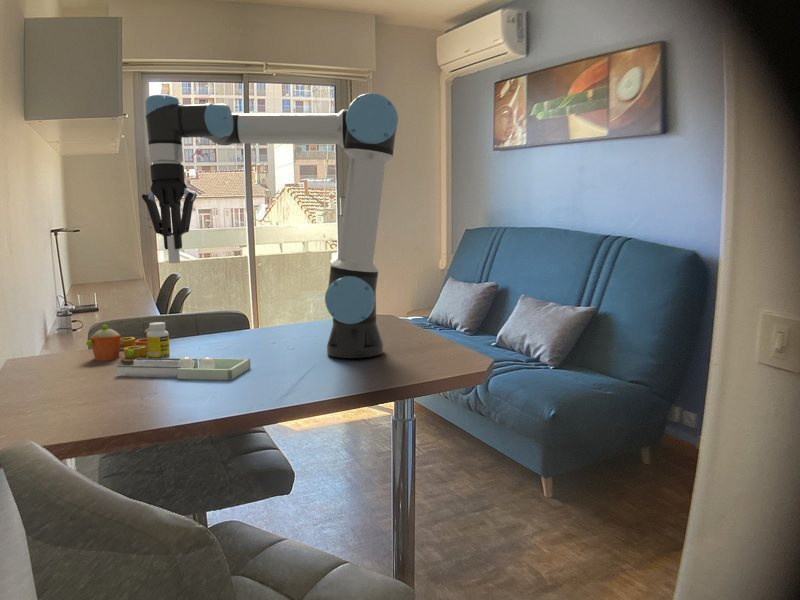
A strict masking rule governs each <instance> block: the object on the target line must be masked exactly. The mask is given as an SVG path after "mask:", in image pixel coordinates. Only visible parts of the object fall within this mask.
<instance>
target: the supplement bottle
mask: <svg viewBox="0 0 800 600" xmlns="http://www.w3.org/2000/svg"><path fill="white" fill-rule="evenodd" d="M148 325H149V326H148V328H150V331H149V332H148V333H147V335H146V338H147V348H148V358H171V357H170V337H169V336H170V335H169V331H167V330H166V322H164V321H159V322H156V321H154V322H150V323H149V324H148Z"/></svg>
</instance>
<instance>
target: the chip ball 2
mask: <svg viewBox="0 0 800 600" xmlns="http://www.w3.org/2000/svg"><path fill="white" fill-rule="evenodd" d="M202 358H203V359H202V360H201V361H200V362H199V361H198V368H199V369H215V362H214V360H213V359H212V358H213V357H208V356H206V357H202Z"/></svg>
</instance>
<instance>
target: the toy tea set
mask: <svg viewBox="0 0 800 600" xmlns="http://www.w3.org/2000/svg"><path fill="white" fill-rule="evenodd" d="M149 331H150V328H149V327H148V328H146V329H145V330H144V333H145V335H146V336H147V333H148V332H149ZM86 345H87V347H91V349H92V352H93V356H94V360H96V361H99V362H104V361H105V362H106V361H112V360H115V359H118V358H119V357H120V352H121V351H123V354H124V356H122V357H121V359H120V361H122V362H127V363H133V360H136V358H148V348H147V337H146V338H138V339H136V337H134V336H127V337H125V336H124V337H122V336H121V334H120V333H119V332H117V331H116V330H115V329H113V328H109V325H107V324H103V325H102V326H101V329H98V330H97V331H95V332H94V333H93V335H91V336H90V337H89V339H88V340H87V341H86Z"/></svg>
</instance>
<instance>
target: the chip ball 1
mask: <svg viewBox="0 0 800 600" xmlns="http://www.w3.org/2000/svg"><path fill="white" fill-rule="evenodd" d="M179 359H180V360H179V362H178V367H184V368H192V369H193V368H194V361H193V360H192V359H193V358H191V357H188V356H184V357H182V358H179Z"/></svg>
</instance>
